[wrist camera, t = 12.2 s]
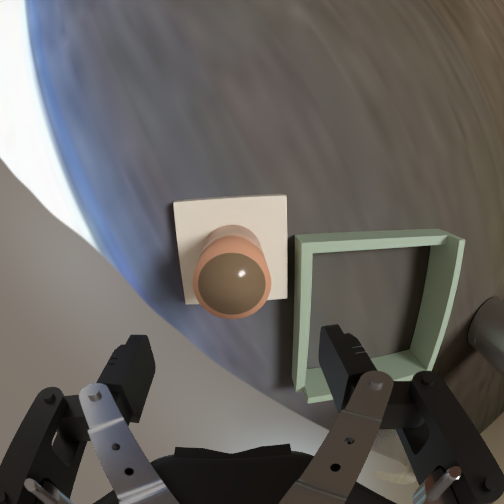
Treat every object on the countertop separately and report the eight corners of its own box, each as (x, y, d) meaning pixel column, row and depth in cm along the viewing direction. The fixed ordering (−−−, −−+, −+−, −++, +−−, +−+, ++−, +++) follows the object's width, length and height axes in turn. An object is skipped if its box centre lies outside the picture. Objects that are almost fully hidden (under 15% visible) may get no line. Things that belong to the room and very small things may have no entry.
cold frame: (438, 228, 28) (465, 239, 23) (413, 353, 34) (430, 374, 29) (294, 234, 27) (307, 249, 23) (291, 376, 33) (299, 404, 28)
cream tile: (283, 193, 26) (286, 195, 25) (284, 291, 29) (287, 298, 28) (176, 200, 26) (173, 202, 24) (188, 297, 29) (185, 304, 27)
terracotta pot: (261, 223, 25) (271, 245, 19) (262, 279, 27) (271, 317, 20) (200, 225, 25) (188, 248, 18) (205, 282, 27) (196, 320, 20)
